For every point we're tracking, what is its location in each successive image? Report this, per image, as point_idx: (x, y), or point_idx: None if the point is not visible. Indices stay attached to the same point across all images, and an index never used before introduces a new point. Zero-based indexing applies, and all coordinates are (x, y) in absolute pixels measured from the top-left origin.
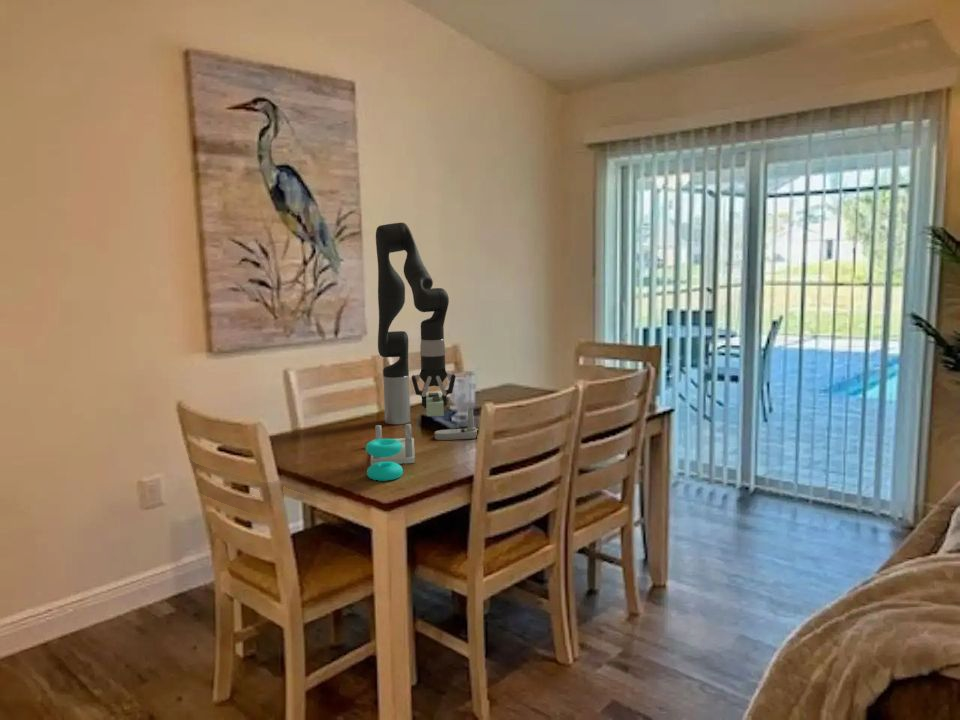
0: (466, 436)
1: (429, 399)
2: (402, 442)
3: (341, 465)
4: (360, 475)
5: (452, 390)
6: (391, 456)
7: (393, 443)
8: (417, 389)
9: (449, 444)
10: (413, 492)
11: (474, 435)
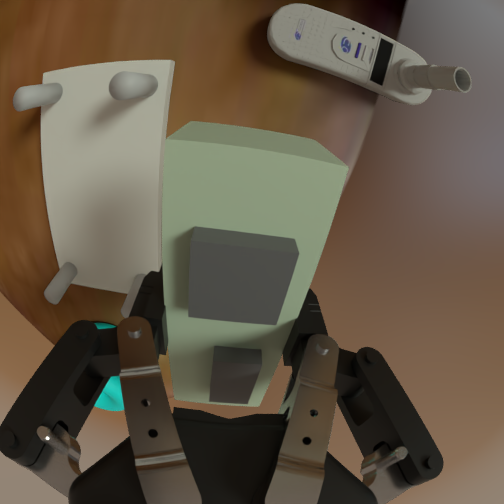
0: (379, 92)
1: (190, 352)
2: (121, 122)
3: (21, 257)
4: (71, 322)
5: (359, 397)
6: (100, 270)
7: (116, 408)
8: (91, 393)
9: (299, 130)
10: (168, 395)
11: (404, 103)
